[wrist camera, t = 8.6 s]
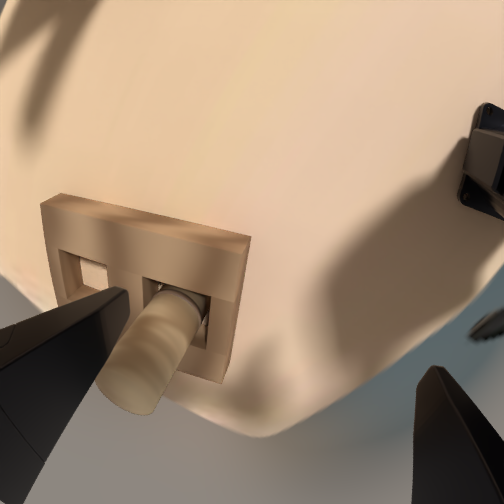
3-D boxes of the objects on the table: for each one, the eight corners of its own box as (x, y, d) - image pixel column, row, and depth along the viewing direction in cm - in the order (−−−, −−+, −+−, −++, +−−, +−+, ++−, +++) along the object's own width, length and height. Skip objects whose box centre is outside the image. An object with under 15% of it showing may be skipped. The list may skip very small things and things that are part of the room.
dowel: (214, 280, 23) (151, 386, 14) (210, 321, 25) (157, 423, 16) (164, 266, 23) (87, 358, 15) (165, 307, 25) (100, 399, 16)
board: (251, 236, 21) (241, 254, 18) (229, 362, 26) (221, 384, 24) (60, 193, 22) (40, 203, 20) (76, 308, 28) (62, 323, 26)
